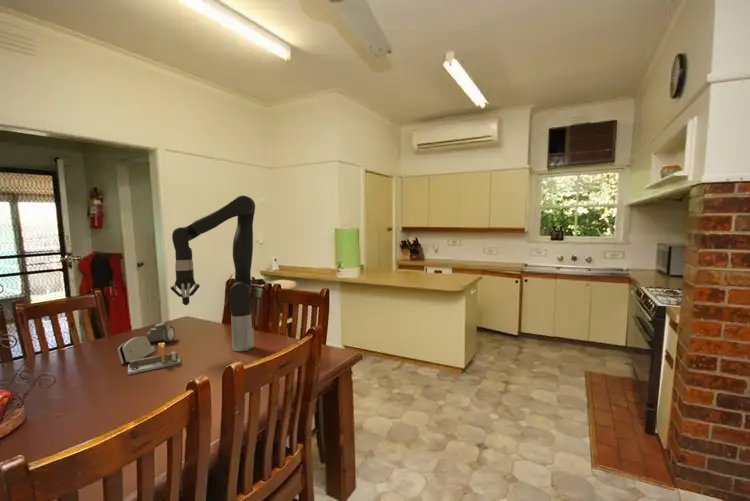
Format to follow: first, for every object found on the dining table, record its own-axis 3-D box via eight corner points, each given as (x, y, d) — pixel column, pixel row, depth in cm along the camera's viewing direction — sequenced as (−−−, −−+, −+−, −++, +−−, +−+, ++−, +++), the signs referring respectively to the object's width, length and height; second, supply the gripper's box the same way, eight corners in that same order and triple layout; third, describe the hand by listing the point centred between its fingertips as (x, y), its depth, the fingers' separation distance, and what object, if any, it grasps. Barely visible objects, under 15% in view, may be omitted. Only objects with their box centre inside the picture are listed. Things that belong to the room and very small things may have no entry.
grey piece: (178, 357, 159) (178, 346, 159) (181, 364, 152) (180, 352, 152) (128, 367, 149) (127, 355, 148) (128, 374, 141) (127, 362, 141)
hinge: (132, 363, 153) (123, 343, 152) (122, 367, 153) (113, 346, 152) (156, 350, 170) (148, 331, 169) (147, 353, 170) (139, 334, 169)
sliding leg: (165, 357, 156) (164, 342, 156) (166, 361, 150) (165, 346, 150) (159, 358, 155) (158, 343, 154) (160, 363, 149) (159, 347, 149)
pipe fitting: (177, 337, 188) (173, 319, 186) (169, 343, 180) (165, 325, 178) (154, 340, 187) (150, 322, 185) (146, 347, 179) (141, 328, 177)
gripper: (169, 270, 158) (170, 308, 159) (201, 268, 166) (202, 304, 167) (167, 269, 164) (169, 305, 165) (198, 267, 172) (200, 301, 173)
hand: (186, 304), depth 166 cm, fingers closed
